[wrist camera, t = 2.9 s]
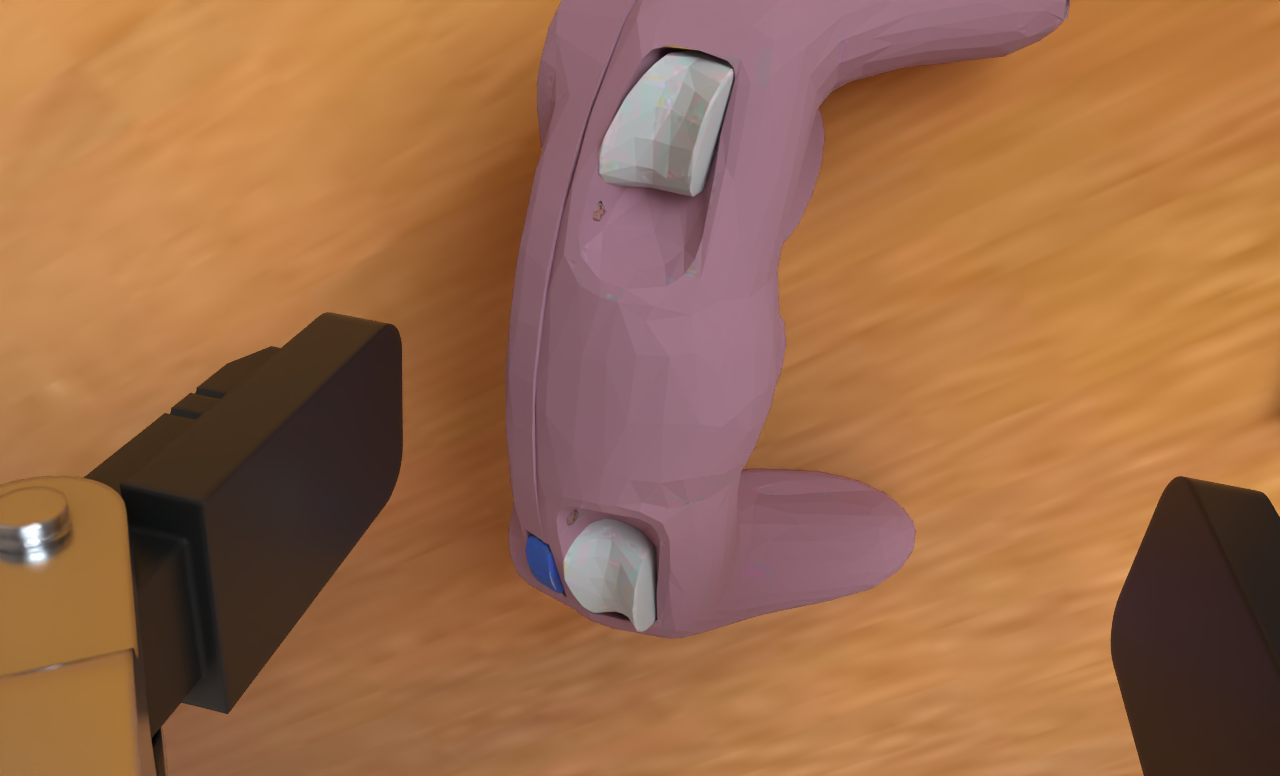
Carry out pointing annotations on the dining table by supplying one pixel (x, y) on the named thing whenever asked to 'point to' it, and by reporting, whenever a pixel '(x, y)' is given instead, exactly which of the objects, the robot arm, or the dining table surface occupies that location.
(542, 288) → the video game controller
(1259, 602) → the robot arm
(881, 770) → the dining table surface
